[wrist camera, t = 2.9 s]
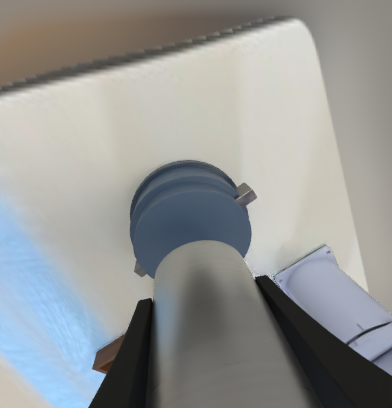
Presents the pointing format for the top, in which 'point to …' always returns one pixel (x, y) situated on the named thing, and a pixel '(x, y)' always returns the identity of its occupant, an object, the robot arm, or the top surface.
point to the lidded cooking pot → (187, 212)
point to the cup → (218, 337)
